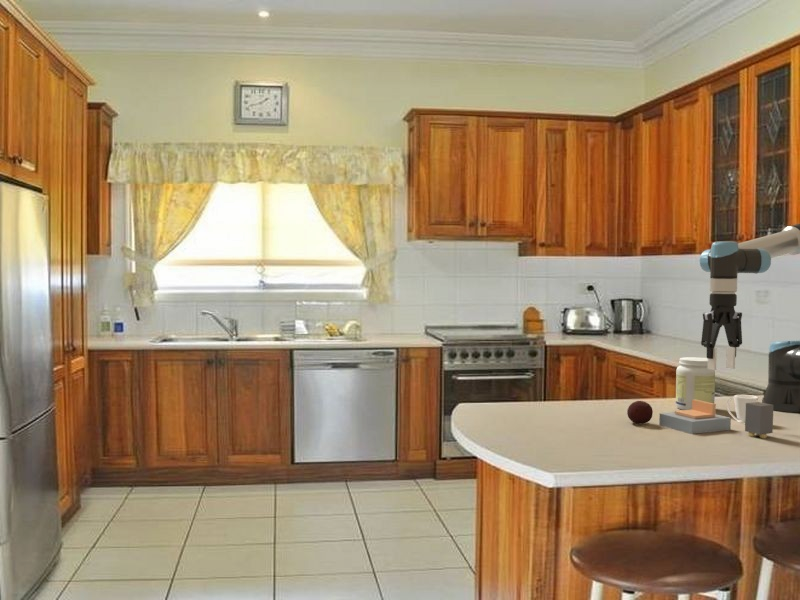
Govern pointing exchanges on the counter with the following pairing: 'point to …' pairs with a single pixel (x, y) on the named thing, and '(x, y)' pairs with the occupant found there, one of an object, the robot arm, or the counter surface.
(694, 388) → the supplement tub
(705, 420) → the socket block
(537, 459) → the counter surface
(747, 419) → the plug
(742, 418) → the cup
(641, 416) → the dark brown ball
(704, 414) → the orange l-shaped bracket
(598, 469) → the counter surface
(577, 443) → the counter surface
